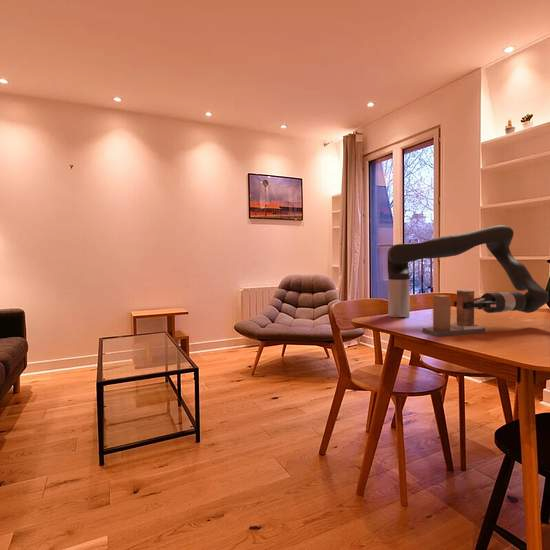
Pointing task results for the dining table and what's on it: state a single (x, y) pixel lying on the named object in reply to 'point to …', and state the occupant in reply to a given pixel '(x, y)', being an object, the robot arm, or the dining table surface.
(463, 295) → the wooden post
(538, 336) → the dining table surface
